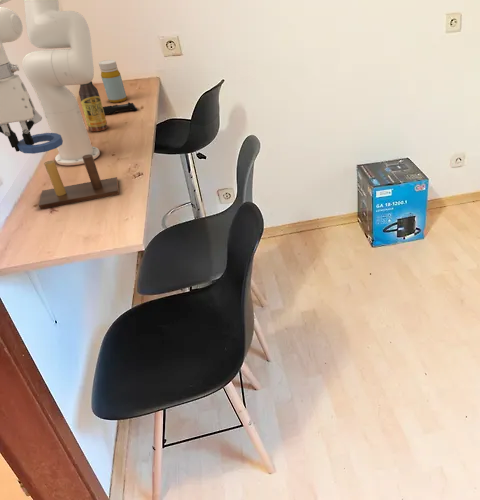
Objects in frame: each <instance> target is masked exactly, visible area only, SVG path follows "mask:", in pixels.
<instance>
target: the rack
mask: <svg viewBox="0 0 480 500" xmlns="http://www.w3.org/2000/svg"><path fill="white" fill-rule="evenodd" d="M82 158H83V161H84V163H83V164H84V167H85V168H86V172H87V175H88V178H89V180H90V181H88V182H83V183H76V184H71V185H65V184H64V182H63V180H62V177H61V174H60V172H59V170H58V166H57V163H56V161H55V160H48V161H45V162H44V163H43V165H44V167H45V169H46V172H47V174H48V178H49V180H50V182H51V185H52V187H53V188H49V189H43V190H41V194H40V199H39V203H38V204H39V209H40V210H42V209H43V210H45V209H48V208H55V207H59V206H65V205H69V204H75V203H81V202H86V201H92V200H96V199H102V198H106V197H107V198H108V197H112V196H117V195H120V189H119V179H118V177H117V176H116V177H111V178H105V179H104V178H103V179H101V177H100V174H99V172H98V169H97V165H96V162H95V159H93V156H92V155H90V154H88V155H84V156H83V157H82Z"/></svg>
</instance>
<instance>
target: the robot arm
mask: <svg viewBox="0 0 480 500" xmlns="http://www.w3.org/2000/svg"><path fill="white" fill-rule="evenodd" d="M10 1H11V0H0V5H2V4H6V3H8V2H10ZM23 4H24V18H25V19H24V20H25V28H26V34H27V38H28V40H29V42H30V44H31V45H32V46H34V47H35V48H38V49H40V50H34V51H31V52H28V53H27V54H26V55H24V56H23V58H22V62H21V63H22V64H21V65H22V70H23V73H24V74H25V77H26V78H27V80H28V82H29V83H30V85H31V87H32V89H33V90H34V92H35V94H36V97H37V99H38V101H39V104H40V106H41V109H42V112H43V115H44V118H45V119H46V123H47V125H48V127H49V130H50V133H57V134H59V135H61V137H62V140H63V143H62V145H61V146H59V147H57V148H56V149H57V152H58V153H57V154H56V155H55V157H54V161H55V163H56V164H58V165H60V166H67V167H68V166H78V165H83V164H84V161H83V158H82V157H83V156H84V155H88V154H90V155H92V156H93V159H94V160H96V159H97V158H98V157H99V156H100V155H101V152H100V151H101V150H100V149H99V148H98V147H96V146H93V145H92V141H91V138H90V136H89V135H90V134H89V133H88V129H87V126H86V124H85V120H84V117H83V115H82V111H81V108H80V106H79V105H80V104H79V101H78V99H77V97H76V96H75V95H74V93H73V92H72V91H71V90H70V89H69V88H68V87H67V86H80V84H87V83H90V82H91V81H92V82H93V79H94V74H95V70H94V59H93V57H94V56H93V47H92V46H93V45H92V38H91V37H92V35H91V30H90V27H89V23H88V22H87V20H86V18H85V16H83V15H82V14H81V13H80V12H78V11H75V10H60V3H59V0H23ZM23 29H24V27H23V22H22V20H21V18H20V17H19V15H18V14H17V12H15V11H14V10H13V9H10V8H9V7H6V6H0V133H2V134H3V135H4V136H5V137H7V139H8V141H9V144H10V146H11V148H14V150H15V152H21V151H20V150H19V148H18V146H17V144H18V142H19V141H20V140H19V137H18V136H17V134H16V132H15V131H14V130H12V127H11V125H10V123H11V124H12V123H19V125H20V128H21V129H22V132H21V133H22V134H21V135H22V139H24V141H25V144H27V145H35V144H34V141H33V139H32V134H31V130H32V128H33V126H34V125H36V124H38V123H40V122H41V121H42V120H43V117H42V115H41V114H40V113H39V112H38V111H37V109H36V108H35V105H34V103H33V101H32V98H31V96H30V94H29V91H28V90H27V88H26V86H25V84H24V82H23V80H22V78H21V77H20V76H19V75H18V74H15V73H16V72H19V71H20V67H19V65H18V64H13V63H12V62H11V61H9V58H8V55H7V53H6V49H5V48H4V45H3V44H5V43H12V42H15V41H17V40H19V39H20V37H21V36H22V34H23ZM41 49H42V50H41Z"/></svg>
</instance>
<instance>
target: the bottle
mask: <svg viewBox="0 0 480 500" xmlns="http://www.w3.org/2000/svg"><path fill="white" fill-rule="evenodd" d="M98 66H99V69H100V76H101V80H102V83H103V87H104V90H105V91H104V92H105V94H106V97H107V101H108V102H109V103H113V104H117V103H123V102H125V101H126V100H127V98H128V97H127V93H126V90H125V89H126V88H125V85H124V82H123V79H122V75H121V72H120V70H119V69H118V65H117V61H116V60H115V59H106V60H101V61H99V62H98Z"/></svg>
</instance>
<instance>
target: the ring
mask: <svg viewBox="0 0 480 500" xmlns="http://www.w3.org/2000/svg"><path fill="white" fill-rule="evenodd" d="M31 136H32V139H33V141H34V145H27V144H25V141H24V139H23V138H21V139H20V140H18V141H19V142H18V144H17V146H18V148H19V150H20V151H19V152H21V153H23V154H29V155H31V154H32V155H35V154H41V153H46V152H49V151H53V150H56V149H57V147H59V146H61V145H62V143H63V140H62V137H61V135H59V134H57V133H51V132H44V133H43V132H42V133H37V134H31ZM41 142H43V143H41ZM37 143H38V144H37Z"/></svg>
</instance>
